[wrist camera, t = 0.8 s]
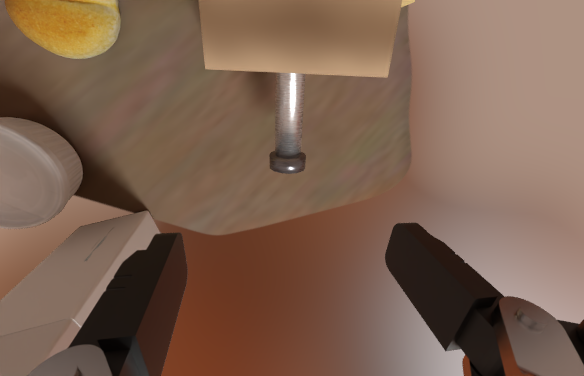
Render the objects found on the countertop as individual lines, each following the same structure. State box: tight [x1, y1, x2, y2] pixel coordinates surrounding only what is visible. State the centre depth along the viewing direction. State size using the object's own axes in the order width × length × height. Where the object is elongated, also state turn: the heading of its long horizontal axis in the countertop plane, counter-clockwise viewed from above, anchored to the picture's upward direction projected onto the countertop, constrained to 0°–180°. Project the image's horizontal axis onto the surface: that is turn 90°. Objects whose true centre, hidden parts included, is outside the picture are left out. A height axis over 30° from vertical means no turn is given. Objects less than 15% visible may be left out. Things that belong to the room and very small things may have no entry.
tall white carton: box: [0, 211, 160, 376], centre depth 22 cm, size 9×9×25 cm
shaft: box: [270, 72, 306, 174], centre depth 19 cm, size 19×3×3 cm, turn 178°
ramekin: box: [0, 117, 83, 229], centre depth 25 cm, size 11×11×5 cm
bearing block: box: [198, 0, 402, 77], centre depth 20 cm, size 6×12×13 cm, turn 88°
